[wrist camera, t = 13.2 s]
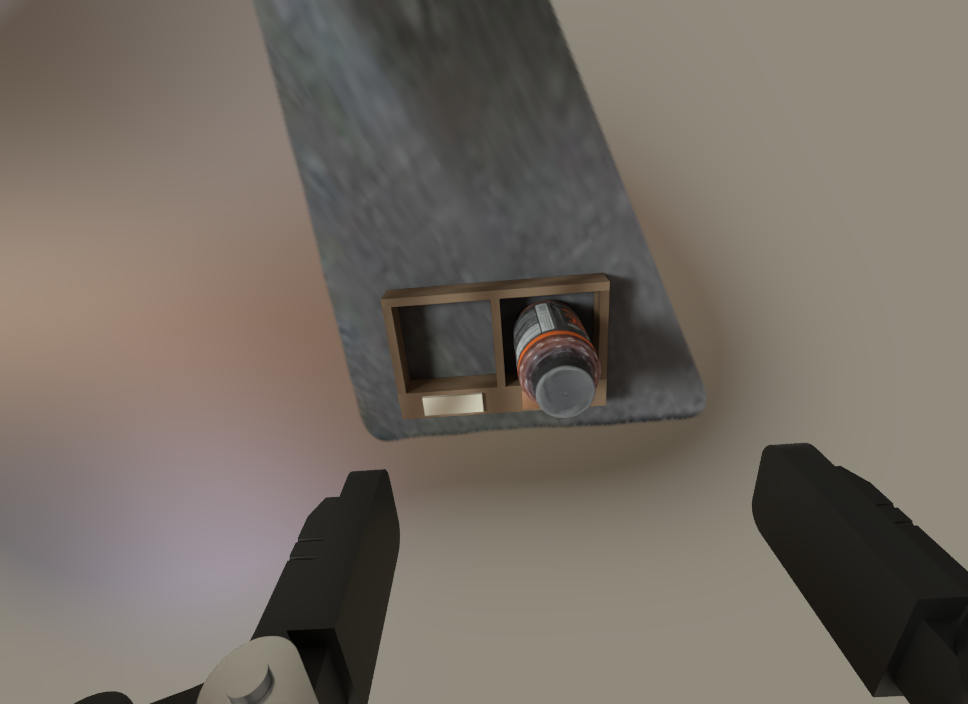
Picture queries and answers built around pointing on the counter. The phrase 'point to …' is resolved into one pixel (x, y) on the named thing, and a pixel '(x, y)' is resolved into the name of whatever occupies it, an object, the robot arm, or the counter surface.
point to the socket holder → (501, 387)
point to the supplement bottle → (555, 359)
